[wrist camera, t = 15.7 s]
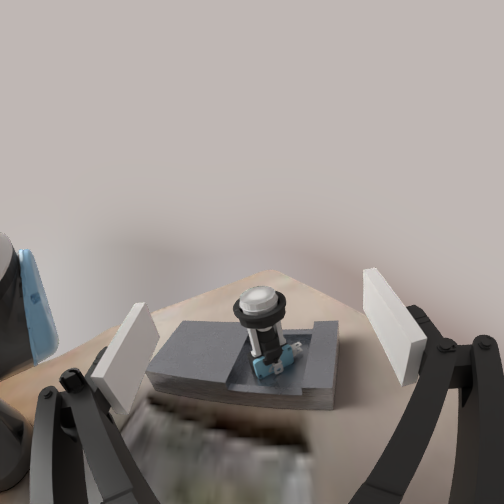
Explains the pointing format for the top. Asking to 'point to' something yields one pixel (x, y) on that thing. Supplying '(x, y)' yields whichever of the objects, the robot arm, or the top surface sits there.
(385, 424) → the top surface
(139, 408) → the top surface
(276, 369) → the push button
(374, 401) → the top surface
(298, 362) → the grey recessed block
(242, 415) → the top surface
